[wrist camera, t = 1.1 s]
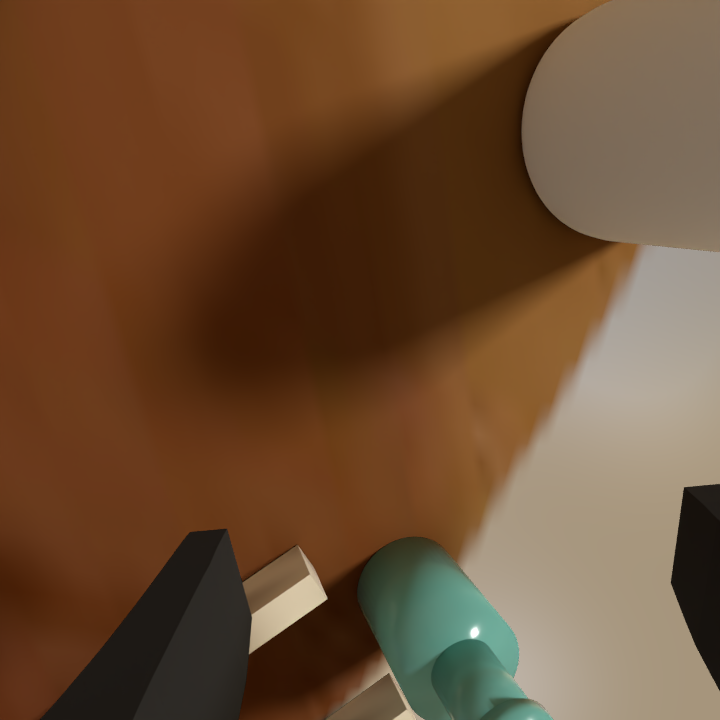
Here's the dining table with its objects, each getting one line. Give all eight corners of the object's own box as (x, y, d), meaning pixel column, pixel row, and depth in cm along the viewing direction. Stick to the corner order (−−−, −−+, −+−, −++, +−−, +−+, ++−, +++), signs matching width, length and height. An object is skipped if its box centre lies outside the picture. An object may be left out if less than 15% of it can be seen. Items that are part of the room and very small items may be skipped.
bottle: (387, 648, 26) (490, 844, 18) (338, 578, 25) (427, 757, 17) (469, 589, 27) (603, 754, 19) (426, 517, 25) (551, 663, 17)
